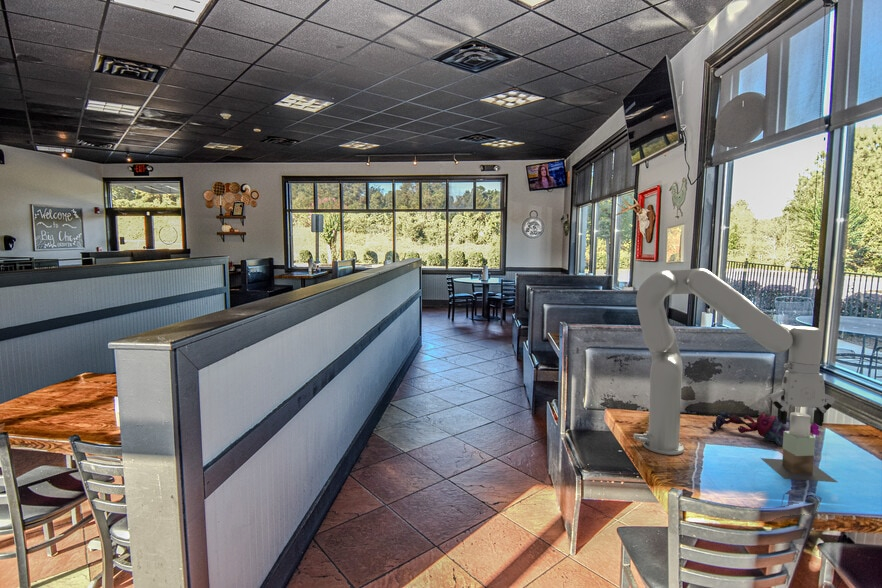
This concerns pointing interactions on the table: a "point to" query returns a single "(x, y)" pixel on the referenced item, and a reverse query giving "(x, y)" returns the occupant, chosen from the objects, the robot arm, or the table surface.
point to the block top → (799, 444)
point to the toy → (760, 426)
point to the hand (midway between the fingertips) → (799, 423)
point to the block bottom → (798, 463)
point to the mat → (786, 474)
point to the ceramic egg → (800, 424)
